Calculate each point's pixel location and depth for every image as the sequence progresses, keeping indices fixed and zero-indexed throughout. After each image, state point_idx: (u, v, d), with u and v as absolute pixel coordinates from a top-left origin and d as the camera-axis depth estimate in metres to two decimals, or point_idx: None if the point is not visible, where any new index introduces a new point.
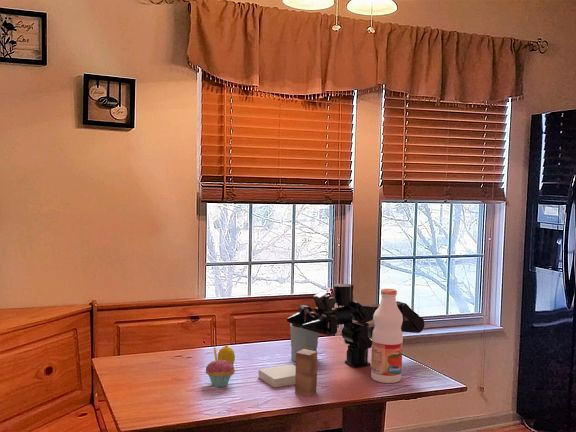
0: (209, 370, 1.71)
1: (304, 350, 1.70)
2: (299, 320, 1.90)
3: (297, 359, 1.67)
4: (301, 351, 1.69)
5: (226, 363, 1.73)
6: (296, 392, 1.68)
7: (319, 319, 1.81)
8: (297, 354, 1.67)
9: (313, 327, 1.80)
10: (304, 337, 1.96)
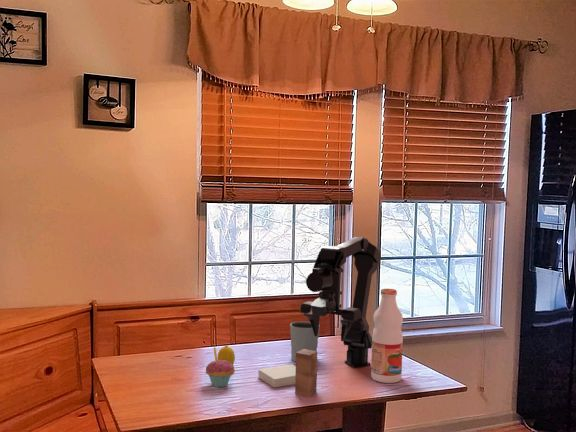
0: (209, 370, 1.71)
1: (304, 350, 1.70)
2: (317, 319, 1.82)
3: (297, 359, 1.67)
4: (301, 351, 1.69)
5: (226, 363, 1.73)
6: (296, 392, 1.68)
7: (344, 324, 1.74)
8: (297, 354, 1.67)
9: (346, 330, 1.76)
10: (304, 337, 1.96)
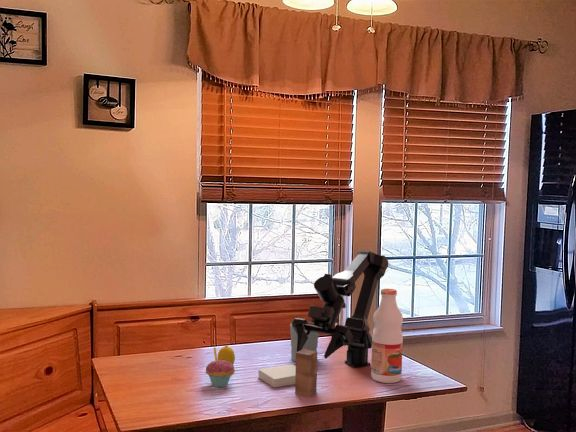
0: (209, 370, 1.71)
1: (304, 350, 1.70)
2: (304, 339, 1.76)
3: (297, 359, 1.67)
4: (301, 351, 1.69)
5: (226, 363, 1.73)
6: (296, 392, 1.68)
7: (333, 338, 1.69)
8: (297, 354, 1.67)
9: (333, 349, 1.69)
10: None
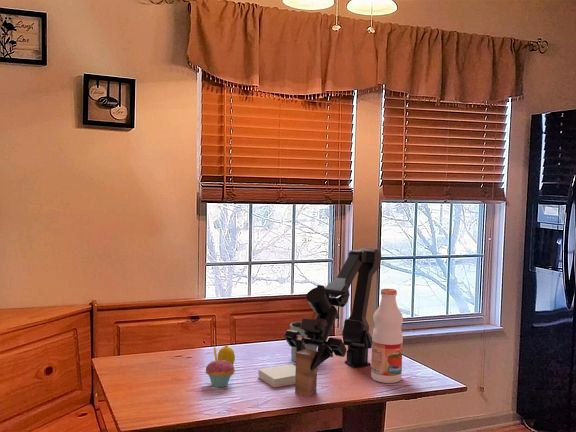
0: (209, 370, 1.71)
1: (304, 350, 1.70)
2: None
3: (297, 359, 1.67)
4: (301, 351, 1.68)
5: (226, 363, 1.73)
6: (296, 392, 1.68)
7: (320, 350, 1.67)
8: (297, 354, 1.67)
9: (319, 361, 1.67)
10: None
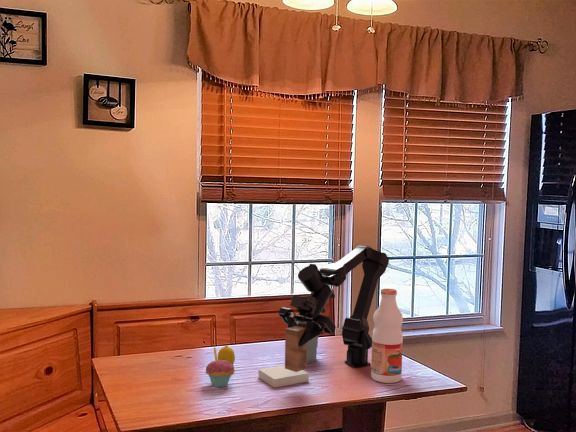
0: (209, 370, 1.71)
1: (294, 327, 1.73)
2: None
3: (286, 335, 1.71)
4: (291, 327, 1.72)
5: (226, 363, 1.73)
6: (286, 367, 1.72)
7: (308, 327, 1.70)
8: (286, 330, 1.71)
9: (308, 337, 1.71)
10: None
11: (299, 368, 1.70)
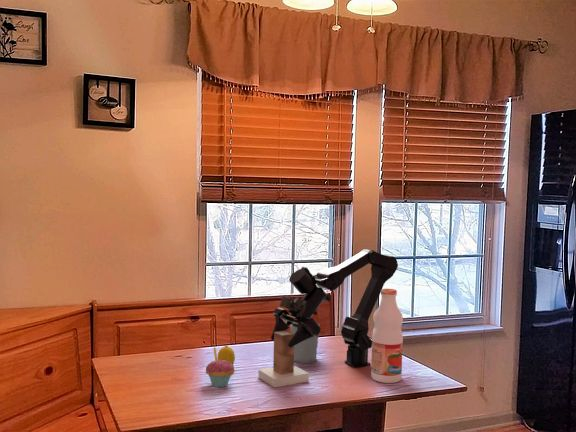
0: (209, 370, 1.71)
1: (284, 331, 1.81)
2: (282, 328, 1.85)
3: (274, 338, 1.79)
4: (280, 332, 1.80)
5: (226, 363, 1.73)
6: (274, 369, 1.80)
7: (299, 329, 1.75)
8: (275, 334, 1.79)
9: (298, 339, 1.75)
10: None
11: (285, 371, 1.77)
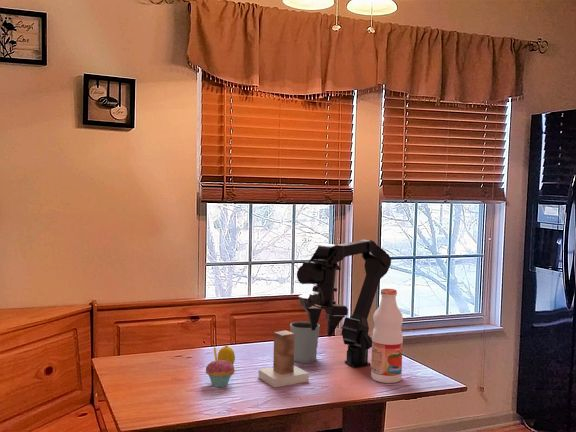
0: (209, 370, 1.71)
1: (284, 331, 1.81)
2: (316, 314, 1.89)
3: (274, 338, 1.79)
4: (280, 332, 1.80)
5: (226, 363, 1.73)
6: (274, 369, 1.80)
7: (328, 319, 1.78)
8: (275, 334, 1.79)
9: (333, 326, 1.79)
10: (304, 337, 1.96)
11: (285, 371, 1.77)
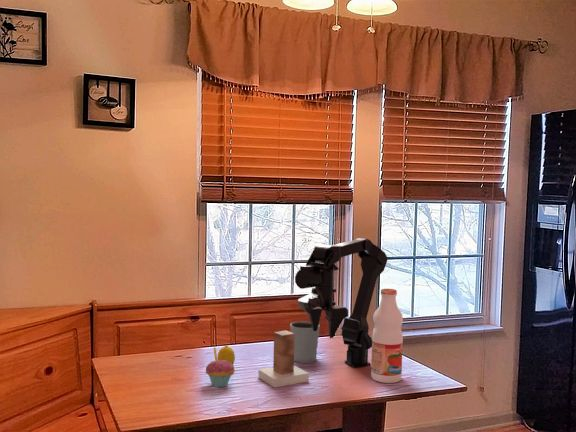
0: (209, 370, 1.71)
1: (284, 331, 1.81)
2: (317, 314, 1.88)
3: (274, 338, 1.79)
4: (280, 332, 1.80)
5: (226, 363, 1.73)
6: (274, 369, 1.80)
7: (329, 321, 1.78)
8: (275, 334, 1.79)
9: (335, 327, 1.79)
10: (304, 337, 1.96)
11: (285, 371, 1.77)
